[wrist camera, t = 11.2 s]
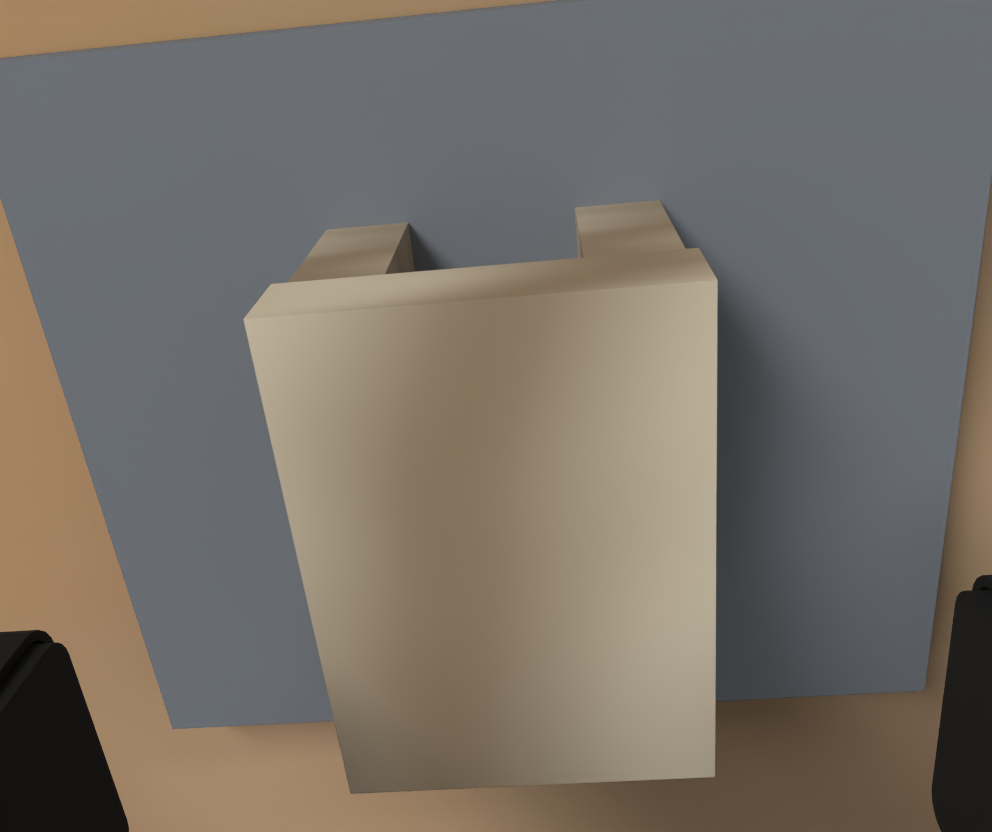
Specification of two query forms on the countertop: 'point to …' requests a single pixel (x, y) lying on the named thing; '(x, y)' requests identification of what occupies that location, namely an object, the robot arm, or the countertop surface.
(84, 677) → the countertop surface
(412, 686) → the beige tabbed block
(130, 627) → the countertop surface
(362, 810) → the countertop surface
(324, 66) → the slate mat
